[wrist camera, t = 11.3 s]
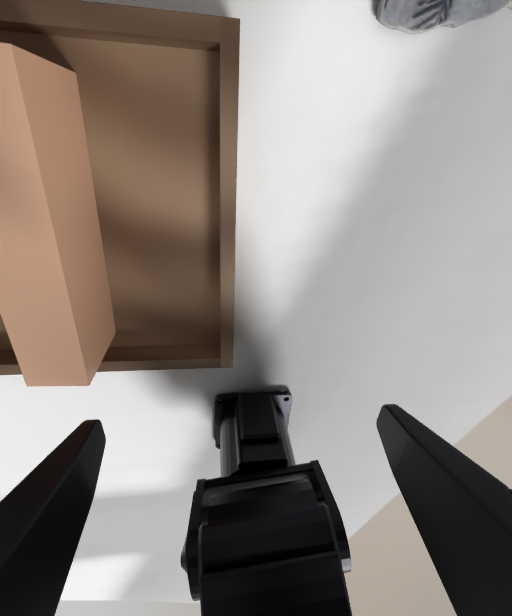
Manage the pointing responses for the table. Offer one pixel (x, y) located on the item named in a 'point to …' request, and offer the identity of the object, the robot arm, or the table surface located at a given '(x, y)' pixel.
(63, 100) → the light brown rectangular block
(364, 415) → the table surface
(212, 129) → the tray
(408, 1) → the fossil rock
